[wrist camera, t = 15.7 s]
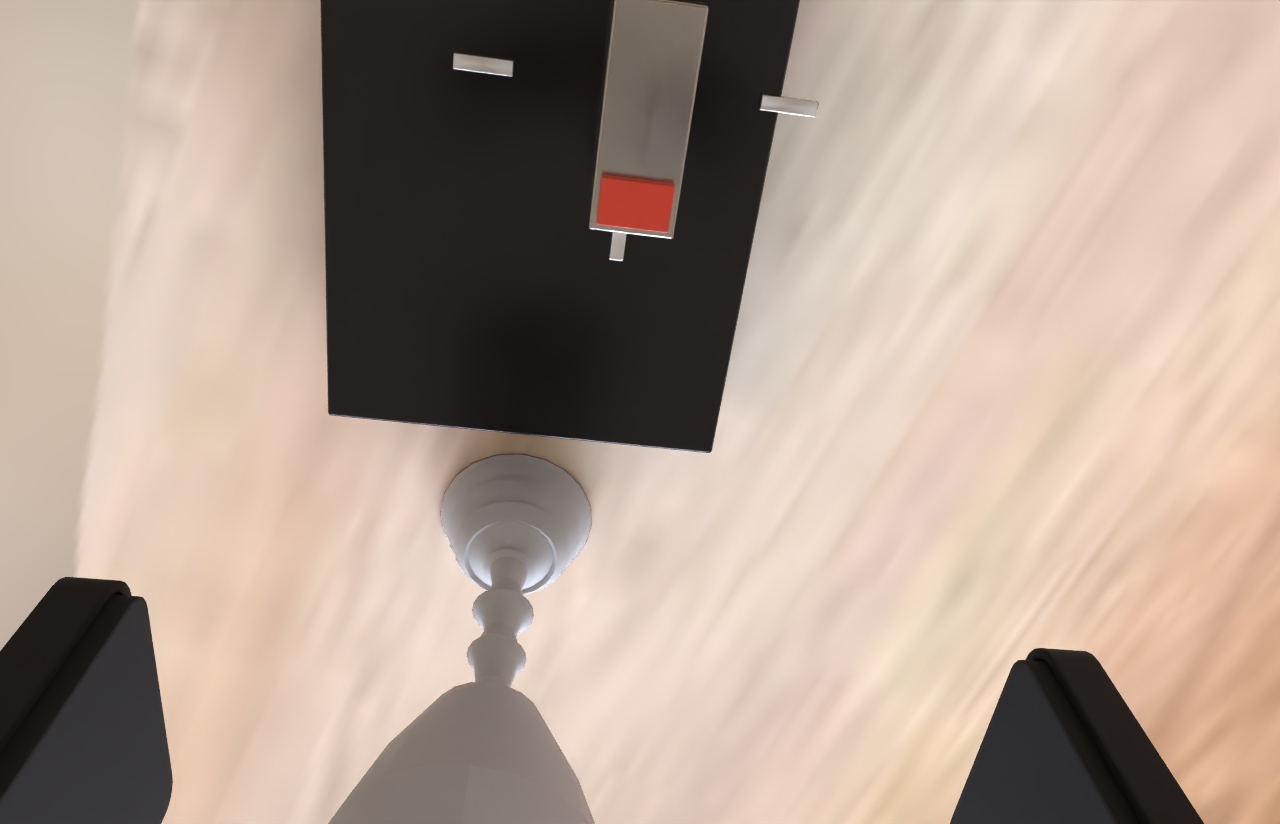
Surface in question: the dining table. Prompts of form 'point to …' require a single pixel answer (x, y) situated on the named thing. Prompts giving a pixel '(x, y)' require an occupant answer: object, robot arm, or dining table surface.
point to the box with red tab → (645, 114)
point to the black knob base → (531, 221)
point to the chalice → (489, 666)
